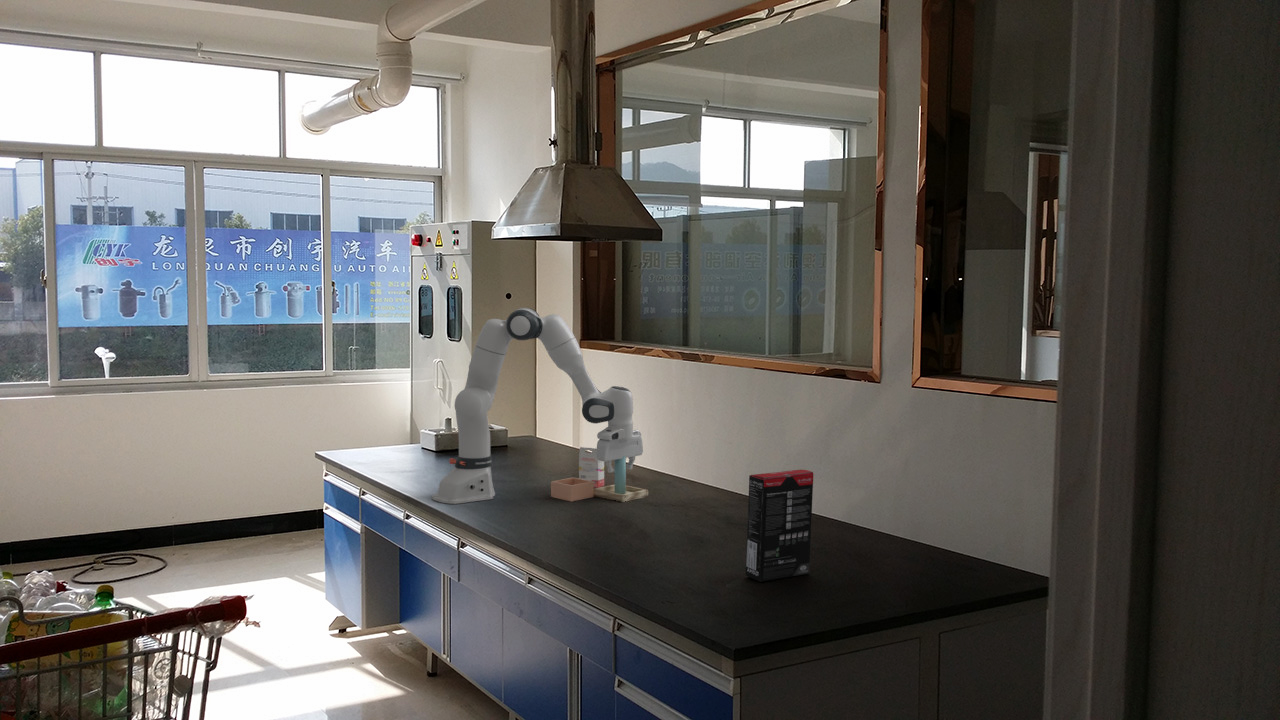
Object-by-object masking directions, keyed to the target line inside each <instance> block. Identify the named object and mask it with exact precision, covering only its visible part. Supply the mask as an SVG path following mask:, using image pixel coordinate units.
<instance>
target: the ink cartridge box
mask: <svg viewBox="0 0 1280 720" xmlns="http://www.w3.org/2000/svg"><path fill="white" fill-rule="evenodd" d="M586 451H587V452H586ZM588 451H589V452H588ZM578 453H579V455H578V478H579V479H583V480H588V481H593V482H594V489H595V488H600V487H605V462H603V461H599V460H598V459H597V448H596V447H595V448H594V447H585V446H581V447H579V452H578Z"/></svg>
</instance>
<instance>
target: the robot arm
mask: <svg viewBox="0 0 1280 720" xmlns="http://www.w3.org/2000/svg"><path fill="white" fill-rule="evenodd" d="M533 339H539V341H540V342H541V343H542V344H543V346H544V349H545V350H546V352H547V354H548V356H549V357H550V359H551V360H552V363H554V365H556V367H557V368H559V370H562V371H563V372H564V373H565V374H566V375H568V376H569V379H571V381H572V383H573V385H574V386H575V387H576V389H577V391H578V393H579V395H580V398H581V401H582V407H581V413H582V417H583V418H584V419H585V421H587V422H588V423H591V424H601V423H605V422H606V423H607V427H605V428H603V429H602V430H600V431H599V432H597V434H596V437H597V439H599V440H597V443H596V449H597V459H598V460H599V461H603V462H604V465H605V466H606V467H607V473H609V474H612V473H615V467H613V466H612V464H613V461H615V460H617V459H622V457H623V456H624V455H625V458H626V459H627V458H628V462H627V464H626V470H633V468H634V466H633V465H634V463H635V461H636V457H639V456H642V455H643V453H644V447H643V446H644V444H643V439H642V433H641V431H639V430H638V429H634V422H633V413H634V401H633V400H634V399H633V394H632V392H631V391H630V389H628V388H627V387H623V386H618V385H617V386H616V385H615V386H610V387H609V388H608V389H607V390H604V391H603V392H602V391H600V390H599V389H598V387H597V386H596V385H595V383H594V381H593V379H592V378H591V375H590V374H589V372H588V370H587V368H586V365H585V362H584V357H583V354H582V350H581V347H580V345H579V343H578V339H577V338H576V337H575V335H574V332H573V331H572V329H571V328H570V326H569V325H568V323H567V322H566V321H565V319H563V317H562V316H561V315H560V314H554V313H553V314H548V315H546V316H543V317H541V316H540V315H539V313H538V312H537V311H536V310H535V309H533V308H530V307H520V308H517V309H515V310H513V311H512V312H511V313H510V314H509V315H508V317H507V318H506V319H499V318H490V319H487V320H486V322H485V323H484V325H483V327H482V329H481V330H480V333H479V335H478V338H477V339H476V342H475V345H474V349H473V352H472V356H471V358H470V361H469V365H468V372H467V378H466V382H465V386H464V388H463V390H461V391H459V393H457V395H456V397H455V399H454V410H455V419H456V425H457V431H458V433H457V434H458V456H457V458H453V457H451V458H449V460H448V462H449V464H450V465H454V468H453V469H451V470H450V472H448V474H447V475H445V476H444V477H443V478H442V479H441V480H440V482H439V485H438V493H436V494H432V495H431V500H433V501H435V502H439V503H443V504H450V505H458V504H464V503H465V504H466V503H472V502H473V503H474V502H478V501H479V502H480V501H487V500H493V499H494V497H495V496H496V492H495V489H494V485H493V479H492V462H493V460H492V459H493V458H492V454H491V431H490V427H489V417H488V411H490V409H491V408H492V406H493V404H494V399H495V395H496V391H497V387H498V383H499V378H500V375H501V372H502V371H501V370H502V367H503V364H504V362H505V359H506V355H507V352H508V348H509V346H510V343H511V342H512V341H513V340H517V341H528V340H533Z"/></svg>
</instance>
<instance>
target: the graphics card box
mask: <svg viewBox="0 0 1280 720" xmlns="http://www.w3.org/2000/svg"><path fill="white" fill-rule="evenodd" d="M748 477H749V479H748V503H747V507H748V509H747V526H746V527H747V528H746V529H747V530H746V531H747V532H746V536H747V537H746V552H745V553H746V556H745V559H746V560H745V576H746V577H748V578H751V579H752V580H755V581H757V582H759V583H762V582H767V581H773V580H779V579H786V578H792V577H795V576H796V577H797V576H803V575H807V574H809V573H810V566H811V565H810V562H811V560H810V559H811V539H812V537H811V535H812V517H813V514H812V513H813V494H814V492H813V489H814V471H811V470H807V469H793V470H784V471H777V472H774V471H773V472H766V473H755V474H750V475H749V476H748Z"/></svg>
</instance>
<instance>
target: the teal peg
mask: <svg viewBox="0 0 1280 720" xmlns="http://www.w3.org/2000/svg"><path fill="white" fill-rule="evenodd" d="M626 459H627V458H625V455H624V456H623V457H622V459H617V460H614V485H615V493H617V494H622V495H623V494H626V486H627V485H626V483H627V482H626V481H627V478H626V477H627V476H626V475H627V468H626V467H627V466H626V463H627V462H626V461H627V460H626Z"/></svg>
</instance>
